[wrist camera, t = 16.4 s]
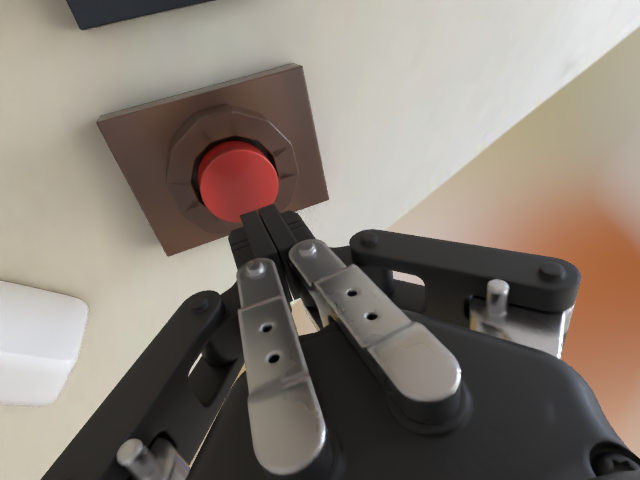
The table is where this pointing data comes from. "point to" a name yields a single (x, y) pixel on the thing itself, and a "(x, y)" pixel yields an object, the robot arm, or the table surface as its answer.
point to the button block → (202, 135)
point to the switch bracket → (121, 10)
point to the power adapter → (37, 343)
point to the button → (236, 180)
